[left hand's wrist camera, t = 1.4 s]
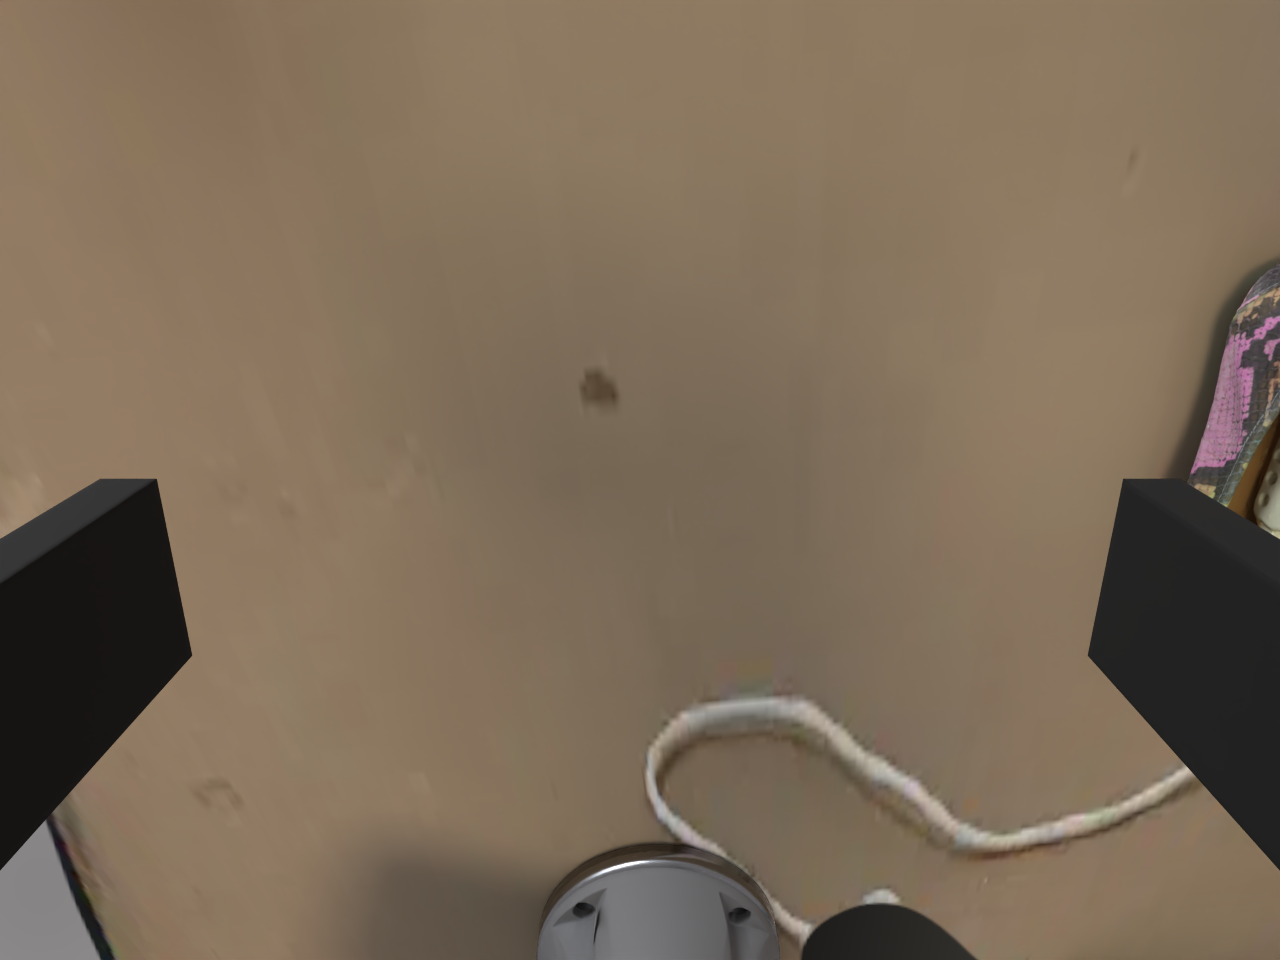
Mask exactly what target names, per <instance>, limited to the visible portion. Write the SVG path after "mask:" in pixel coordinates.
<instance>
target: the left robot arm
mask: <svg viewBox="0 0 1280 960" xmlns="http://www.w3.org/2000/svg"><path fill="white" fill-rule="evenodd" d="M191 656H192V652H191V647H190V642H189V637H188V632H187V627H186V622H185V617H184V612H183V607H182V602H181V597H180V592H179V587H178V582H177V577H176V572H175V567H174V562H173V557H172V552H171V548H170V543H169V538H168V533H167V528H166V523H165V518H164V513H163V508H162V503H161V498H160V493H159V488H158V483H157V479H99V480H98V481H96V482H94V483H93V484H91V485H89V486H88V487H86V488H84V489H83V490H81V491H79V492H78V493H76V494H74V495H73V496H71V497H69V498H68V499H66V500H64V501H63V502H61V503H59V504H58V505H56V506H54V507H53V508H51V509H49V510H48V511H46V512H44V513H43V514H41V515H39V516H38V517H36V518H34V519H33V520H31V521H29V522H28V523H26V524H24V525H23V526H21V527H19V528H18V529H16V530H14V531H13V532H11V533H9V534H8V535H6V536H4V537H3V538H1V539H0V870H1V869H2V868H3V867H4V866H5V864H6V863H7V862H8V861H9V860H10V859H11V858H12V857H13V855H14V854H15V853H16V852H17V851H18V850H19V849H20V848H21V846H22V845H23V844H24V843H25V842H26V841H27V840H28V839H29V838H30V836H31V835H32V834H33V833H34V832H35V831H36V830H37V829H38V827H39V826H40V825H41V824H42V823H43V822H44V821H45V820H46V819H47V817H48V816H49V815H50V814H51V813H52V812H53V811H54V810H55V808H56V807H57V806H58V805H59V804H60V803H61V802H62V801H63V800H64V798H65V797H66V796H67V795H68V794H69V793H70V792H71V791H72V789H73V788H74V787H75V786H76V785H77V784H78V783H79V782H80V781H81V779H82V778H83V777H84V776H85V775H86V774H87V773H88V772H89V770H90V769H91V768H92V767H93V766H94V765H95V764H96V763H97V761H98V760H99V759H100V758H101V757H102V756H103V755H104V754H105V753H106V751H107V750H108V749H109V748H110V747H111V746H112V745H113V744H114V742H115V741H116V740H117V739H118V738H119V737H120V736H121V735H122V734H123V732H124V731H125V730H126V729H127V728H128V727H129V726H130V725H131V723H132V722H133V721H134V720H135V719H136V718H137V717H138V716H139V714H140V713H141V712H142V711H143V710H144V709H145V708H146V707H147V706H148V704H149V703H150V702H151V701H152V700H153V699H154V698H155V697H156V695H157V694H158V693H159V692H160V691H161V690H162V689H163V688H164V686H165V685H166V684H167V683H168V682H169V681H170V680H171V679H172V678H173V676H174V675H175V674H176V673H177V672H178V671H179V670H180V669H181V667H182V666H183V665H184V664H185V663H186V662H187V661H188V660H189V659H190V657H191ZM1088 656H1089V657H1090V659H1091V660H1092V661H1093V662H1094V663H1095V664H1096V665H1097V666H1098V667H1099V669H1100V670H1101V671H1102V672H1103V673H1104V674H1105V675H1106V676H1107V678H1108V679H1109V680H1110V681H1111V682H1112V683H1113V684H1114V685H1115V686H1116V688H1117V689H1118V690H1119V691H1120V692H1121V693H1122V694H1123V695H1124V697H1125V698H1126V699H1127V700H1128V701H1129V702H1130V703H1131V704H1132V706H1133V707H1134V708H1135V709H1136V710H1137V711H1138V712H1139V713H1140V714H1141V716H1142V717H1143V718H1144V719H1145V720H1146V721H1147V722H1148V723H1149V725H1150V726H1151V727H1152V728H1153V729H1154V730H1155V731H1156V732H1157V734H1158V735H1159V736H1160V737H1161V738H1162V739H1163V740H1164V741H1165V742H1166V744H1167V745H1168V746H1169V747H1170V748H1171V749H1172V750H1173V751H1174V753H1175V754H1176V755H1177V756H1178V757H1179V758H1180V759H1181V760H1182V761H1183V763H1184V764H1185V765H1186V766H1187V767H1188V768H1189V769H1190V770H1191V772H1192V773H1193V774H1194V775H1195V776H1196V777H1197V778H1198V779H1199V781H1200V782H1201V783H1202V784H1203V785H1204V786H1205V787H1206V788H1207V789H1208V791H1209V792H1210V793H1211V794H1212V795H1213V796H1214V797H1215V798H1216V800H1217V801H1218V802H1219V803H1220V804H1221V805H1222V806H1223V807H1224V808H1225V810H1226V811H1227V812H1228V813H1229V814H1230V815H1231V816H1232V817H1233V819H1234V820H1235V821H1236V822H1237V823H1238V824H1239V825H1240V826H1241V828H1242V829H1243V830H1244V831H1245V832H1246V833H1247V834H1248V835H1249V836H1250V838H1251V839H1252V840H1253V841H1254V842H1255V843H1256V844H1257V845H1258V847H1259V848H1260V849H1261V850H1262V851H1263V852H1264V853H1265V854H1266V855H1267V857H1268V858H1269V859H1270V860H1271V861H1272V862H1273V863H1274V864H1275V866H1276V867H1277V868H1278V869H1279V870H1280V539H1279V538H1277V537H1276V536H1274V535H1272V534H1271V533H1269V532H1267V531H1266V530H1264V529H1262V528H1261V527H1259V526H1257V525H1256V524H1254V523H1252V522H1251V521H1249V520H1247V519H1246V518H1244V517H1242V516H1241V515H1239V514H1237V513H1236V512H1234V511H1232V510H1231V509H1229V508H1227V507H1226V506H1224V505H1222V504H1221V503H1219V502H1217V501H1216V500H1214V499H1212V498H1211V497H1209V496H1207V495H1206V494H1204V493H1202V492H1201V491H1199V490H1197V489H1196V488H1194V487H1192V486H1191V485H1189V484H1187V483H1186V482H1184V481H1182V480H1181V479H1123V483H1122V488H1121V493H1120V498H1119V503H1118V508H1117V513H1116V518H1115V523H1114V528H1113V533H1112V538H1111V543H1110V548H1109V552H1108V557H1107V562H1106V567H1105V572H1104V577H1103V582H1102V587H1101V592H1100V597H1099V602H1098V607H1097V612H1096V617H1095V622H1094V627H1093V632H1092V637H1091V642H1090V647H1089V652H1088ZM537 960H780V949H779V942H778V936H777V930H776V924H775V919H774V915H773V912H772V909H771V906H770V904H769V902H768V900H767V898H766V896H765V895H764V893H763V892H762V890H761V889H760V888H759V887H758V885H757V884H756V883H755V882H754V881H753V880H752V879H751V878H750V877H749V876H748V875H747V874H745V873H744V872H743V871H742V870H740V869H739V868H737V867H736V866H734V865H733V864H731V863H729V862H728V861H726V860H724V859H722V858H720V857H717V856H715V855H712V854H710V853H707V852H704V851H701V850H697V849H693V848H689V847H683V846H676V845H641V846H634V847H628V848H623V849H619V850H615V851H612V852H609V853H606V854H604V855H601V856H599V857H597V858H594V859H592V860H591V861H589V862H587V863H585V864H583V865H582V866H580V867H579V868H577V869H576V870H574V871H573V872H572V873H571V874H570V875H568V876H567V877H566V878H565V879H564V880H563V881H562V882H561V883H560V884H559V885H558V887H557V888H556V889H555V890H554V892H553V893H552V895H551V896H550V898H549V900H548V902H547V904H546V906H545V908H544V911H543V914H542V918H541V923H540V930H539V938H538V945H537Z"/></svg>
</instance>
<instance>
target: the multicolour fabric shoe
mask: <svg viewBox="0 0 1280 960" xmlns="http://www.w3.org/2000/svg"><path fill="white" fill-rule="evenodd" d="M1187 484H1189V485H1191V486H1192V487H1194V488H1196V489H1197V490H1199V491H1201V492H1202V493H1204V494H1206V495H1207V496H1209V497H1211V498H1212V499H1214V500H1216V501H1217V502H1219V503H1221V504H1222V505H1224V506H1226V507H1227V508H1229V509H1231V510H1232V511H1234V512H1236V513H1237V514H1239V515H1241V516H1242V517H1244V518H1246V519H1247V520H1249V521H1251V522H1252V523H1254V524H1256V525H1257V526H1259V527H1261V528H1262V529H1264V530H1266V531H1267V532H1269V533H1271V534H1272V535H1274V536H1276V537H1277V538H1279V539H1280V264H1278V265H1276V266H1275V267H1273V268H1272V269H1270V270H1269V271H1268V272H1267V273H1265V274H1264V275H1263V276H1261V277H1260V279H1259V280H1258V281H1257V282H1256V283H1255V284H1254V285H1253V287H1252V288H1251V290H1250V291H1249V293H1248V294H1247V296H1246V297H1245V299H1244V301H1243V303H1242V305H1241V306H1240V308H1239V309H1238V310H1237V312H1236V315H1235V316H1234V318H1233V320H1232V322H1231V325H1230V327H1229V332H1228V335H1227V340H1226V344H1225V351H1224V354H1223V358H1222V362H1221V366H1220V372H1219V377H1218V382H1217V386H1216V390H1215V395H1214V400H1213V404H1212V407H1211V410H1210V414H1209V418H1208V422H1207V425H1206V428H1205V431H1204V435H1203V437H1202V439H1201V444H1200V447H1199V450H1198V453H1197V456H1196V459H1195V462H1194V465H1193V467H1192V470H1191V473H1190V476H1189V478H1188V480H1187Z"/></svg>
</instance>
